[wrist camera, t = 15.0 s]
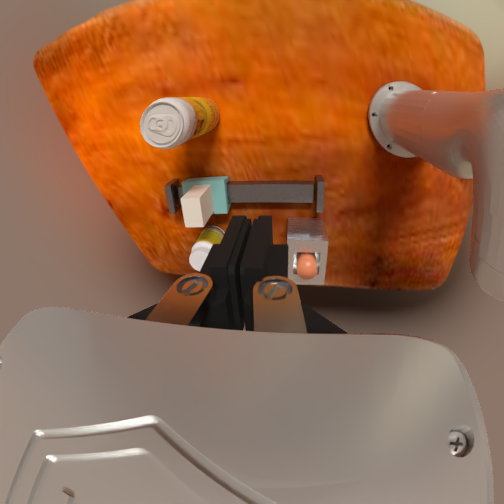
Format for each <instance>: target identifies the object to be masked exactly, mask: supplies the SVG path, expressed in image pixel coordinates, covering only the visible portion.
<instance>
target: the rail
mask: <svg viewBox="0 0 504 504" xmlns="http://www.w3.org/2000/svg"><path fill="white" fill-rule="evenodd" d="M226 185H227V195H228V203H240V202H298V203H313V181H231V182H227V183H226ZM165 190H166V196H167V201H168V206H169V211H170V214H174V213H176V212H177V211H178V210H179V209H180V208H181V207H182V205H181V198H182V197H183V189H182V184H181V185H180V186H179V180H178V179H173V180H172V181H170V182H169V183H168V184H166V185H165ZM323 205H324V179H323V177H322V175H316V184H315V207H316V212H317V213H323Z"/></svg>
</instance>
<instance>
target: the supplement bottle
mask: <svg viewBox="0 0 504 504" xmlns="http://www.w3.org/2000/svg"><path fill="white" fill-rule="evenodd" d="M224 234H225V233H224V231H223V230H222V229H221V228H219V227H217V226H207V227H206V228H204V229H203V231H202V232H201V234H200V235H199V237H198V239H197V240H196V242H195V244H194V245H193V247H192V252H191V255H190V257H189V261H190V264H191V266H192V267H193V268H194V269H196V270H197V271H200V270H201V268H202V266H203V264H204V262H205V260H206V258H207V256H208V254H209V252H210V249H211V247H212V246H213V244H220V243H221V240H222V238H223V236H224Z"/></svg>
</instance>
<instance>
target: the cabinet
mask: <svg viewBox="0 0 504 504" xmlns="http://www.w3.org/2000/svg"><path fill="white" fill-rule="evenodd" d="M287 245H288V279H290V280H292V281H293V282H294V283H295V284H299V285H324V279H325V271H326V261H327V251H328V237H327V232H326V228H325V224H324V220H323V218H297V217H288V232H287ZM298 252H309V253H315V255H316V263H317V274H316V276H315V277H313V278H312V279H302V278H300V277H299V276H298V274H297V253H298Z"/></svg>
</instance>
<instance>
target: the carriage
mask: <svg viewBox="0 0 504 504" xmlns="http://www.w3.org/2000/svg"><path fill="white" fill-rule="evenodd" d="M228 181H229V176H219V177H201V178H188V179H187V180H184V181H183V182H181V183H182V189H183V197H182V198H181V205H182V211H183V217H184V222H185V227H204V226H205V224H206V223H207V221H208V220H209V218H210V216H211V215H212V214H228V212H229V208H230V206H231V203H228V195H227V185H226V183H227V182H228Z"/></svg>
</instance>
